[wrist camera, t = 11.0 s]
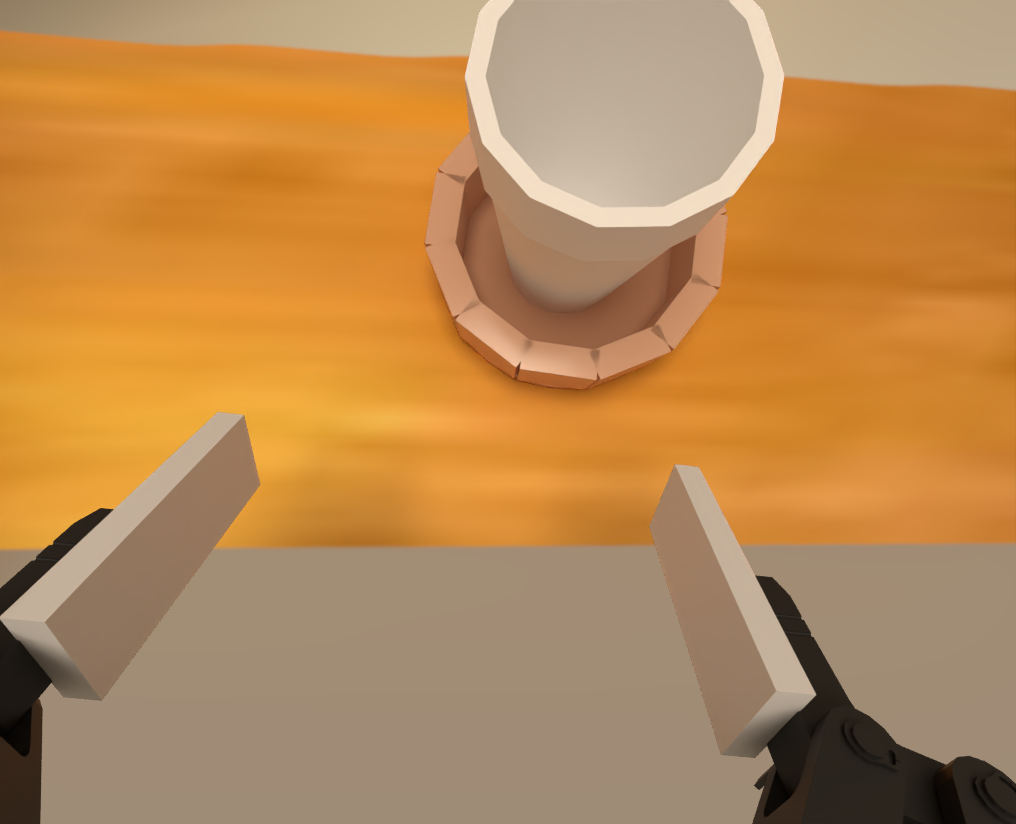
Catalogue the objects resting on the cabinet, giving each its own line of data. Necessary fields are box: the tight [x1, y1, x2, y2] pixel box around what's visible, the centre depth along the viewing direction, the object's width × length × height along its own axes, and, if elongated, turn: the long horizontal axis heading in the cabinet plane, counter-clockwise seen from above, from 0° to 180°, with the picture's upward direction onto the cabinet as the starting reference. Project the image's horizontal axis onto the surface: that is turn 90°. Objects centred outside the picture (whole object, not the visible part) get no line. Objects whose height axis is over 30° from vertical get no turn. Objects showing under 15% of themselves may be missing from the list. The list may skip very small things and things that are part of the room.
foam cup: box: [465, 0, 784, 313], centre depth 20 cm, size 10×9×13 cm
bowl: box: [425, 132, 728, 390], centre depth 25 cm, size 15×15×4 cm
